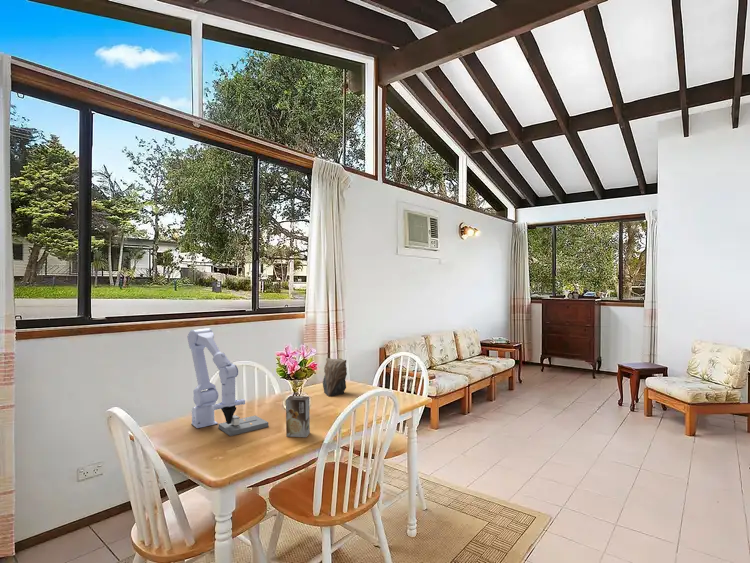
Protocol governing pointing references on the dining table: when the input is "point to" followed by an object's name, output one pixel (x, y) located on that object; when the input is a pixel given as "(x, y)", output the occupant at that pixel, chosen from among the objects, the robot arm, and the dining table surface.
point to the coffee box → (297, 416)
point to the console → (243, 425)
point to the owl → (334, 377)
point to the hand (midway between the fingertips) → (228, 423)
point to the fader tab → (235, 420)
